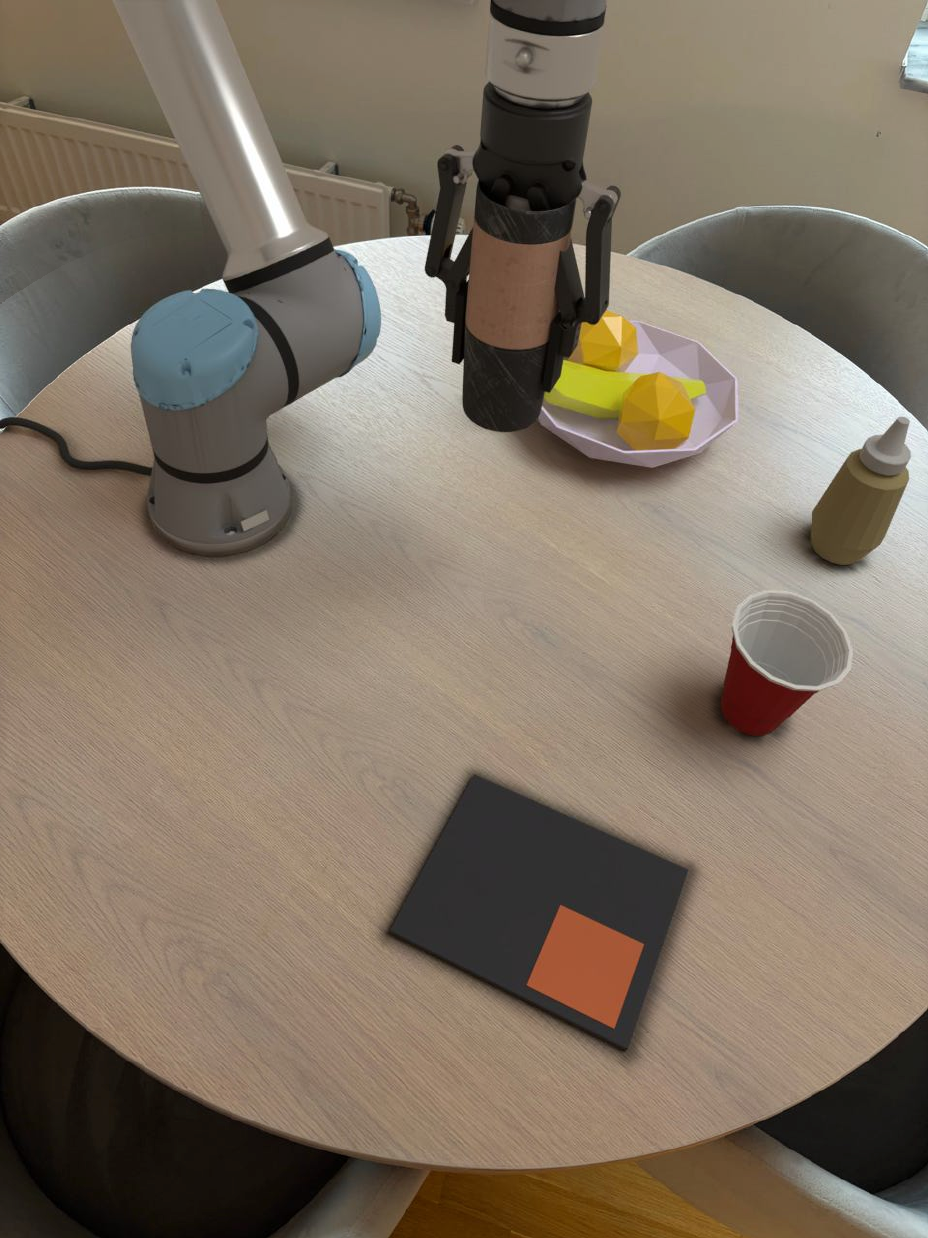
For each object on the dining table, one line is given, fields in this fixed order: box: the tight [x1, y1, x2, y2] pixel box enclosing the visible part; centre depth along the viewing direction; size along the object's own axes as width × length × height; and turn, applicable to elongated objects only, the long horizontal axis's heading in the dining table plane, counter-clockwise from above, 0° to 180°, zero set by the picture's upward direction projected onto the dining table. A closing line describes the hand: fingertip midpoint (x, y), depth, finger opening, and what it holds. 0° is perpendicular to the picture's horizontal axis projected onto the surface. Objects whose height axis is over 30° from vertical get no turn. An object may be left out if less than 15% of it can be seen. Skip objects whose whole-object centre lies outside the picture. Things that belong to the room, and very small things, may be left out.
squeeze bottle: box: [810, 416, 912, 566], centre depth 100 cm, size 8×8×18 cm
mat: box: [389, 773, 689, 1052], centre depth 78 cm, size 20×16×1 cm
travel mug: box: [461, 180, 577, 433], centre depth 78 cm, size 8×8×20 cm
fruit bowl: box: [537, 309, 739, 469], centre depth 115 cm, size 28×27×11 cm
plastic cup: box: [720, 589, 854, 736], centre depth 87 cm, size 11×11×12 cm
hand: (505, 368), depth 82 cm, fingers closed on travel mug, 8 cm apart
